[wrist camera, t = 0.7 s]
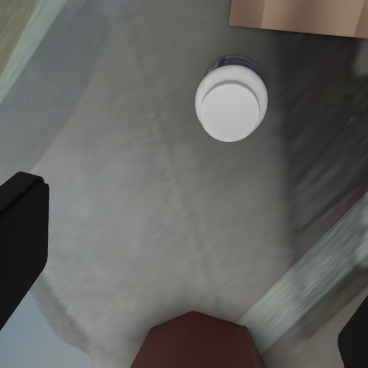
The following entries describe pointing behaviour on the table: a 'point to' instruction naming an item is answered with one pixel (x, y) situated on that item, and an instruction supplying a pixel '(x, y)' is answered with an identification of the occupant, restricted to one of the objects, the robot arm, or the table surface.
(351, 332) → the robot arm
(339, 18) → the pin board
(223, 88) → the pill bottle
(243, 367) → the bucket
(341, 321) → the table surface
